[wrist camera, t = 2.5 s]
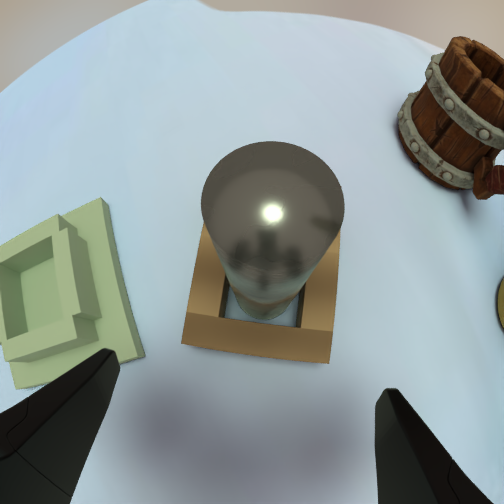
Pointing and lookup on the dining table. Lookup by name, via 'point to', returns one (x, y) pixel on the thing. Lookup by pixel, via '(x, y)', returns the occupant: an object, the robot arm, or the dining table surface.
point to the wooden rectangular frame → (258, 334)
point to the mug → (458, 119)
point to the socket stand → (64, 297)
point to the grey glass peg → (271, 221)
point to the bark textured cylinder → (501, 303)
